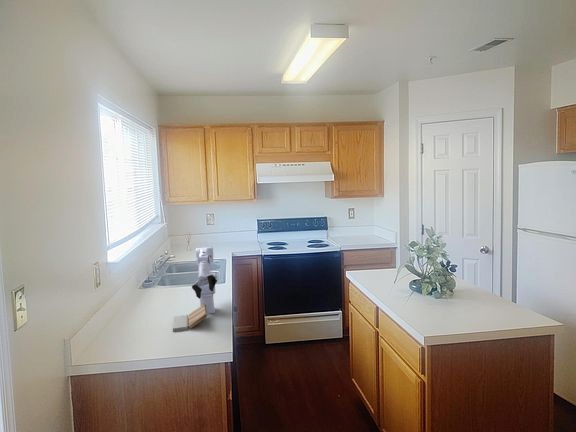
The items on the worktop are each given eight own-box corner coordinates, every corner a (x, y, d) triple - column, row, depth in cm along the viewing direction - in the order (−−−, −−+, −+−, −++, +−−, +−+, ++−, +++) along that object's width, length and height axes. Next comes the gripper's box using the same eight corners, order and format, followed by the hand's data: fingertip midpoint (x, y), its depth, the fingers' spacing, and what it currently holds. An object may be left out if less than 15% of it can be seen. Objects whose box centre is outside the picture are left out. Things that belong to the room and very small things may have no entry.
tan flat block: (190, 316, 221) (188, 314, 220) (206, 305, 222) (204, 303, 222) (190, 328, 203) (188, 326, 203) (207, 316, 204) (205, 314, 204)
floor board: (174, 319, 219) (174, 316, 219) (188, 317, 220) (188, 314, 220) (172, 331, 201) (172, 328, 201) (188, 329, 203) (187, 326, 203)
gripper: (187, 276, 218) (187, 296, 207) (210, 262, 215) (211, 282, 204) (196, 283, 222) (196, 303, 211) (219, 270, 219) (220, 290, 208)
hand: (204, 293), depth 208 cm, fingers open, 7 cm apart
